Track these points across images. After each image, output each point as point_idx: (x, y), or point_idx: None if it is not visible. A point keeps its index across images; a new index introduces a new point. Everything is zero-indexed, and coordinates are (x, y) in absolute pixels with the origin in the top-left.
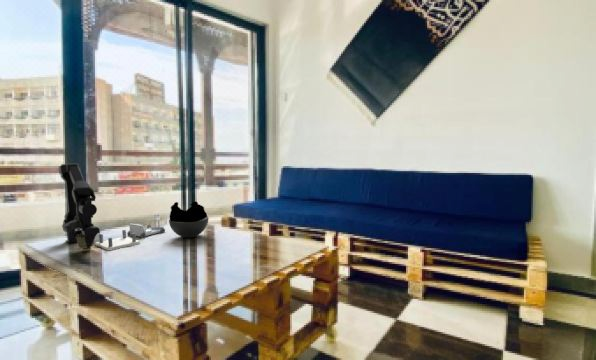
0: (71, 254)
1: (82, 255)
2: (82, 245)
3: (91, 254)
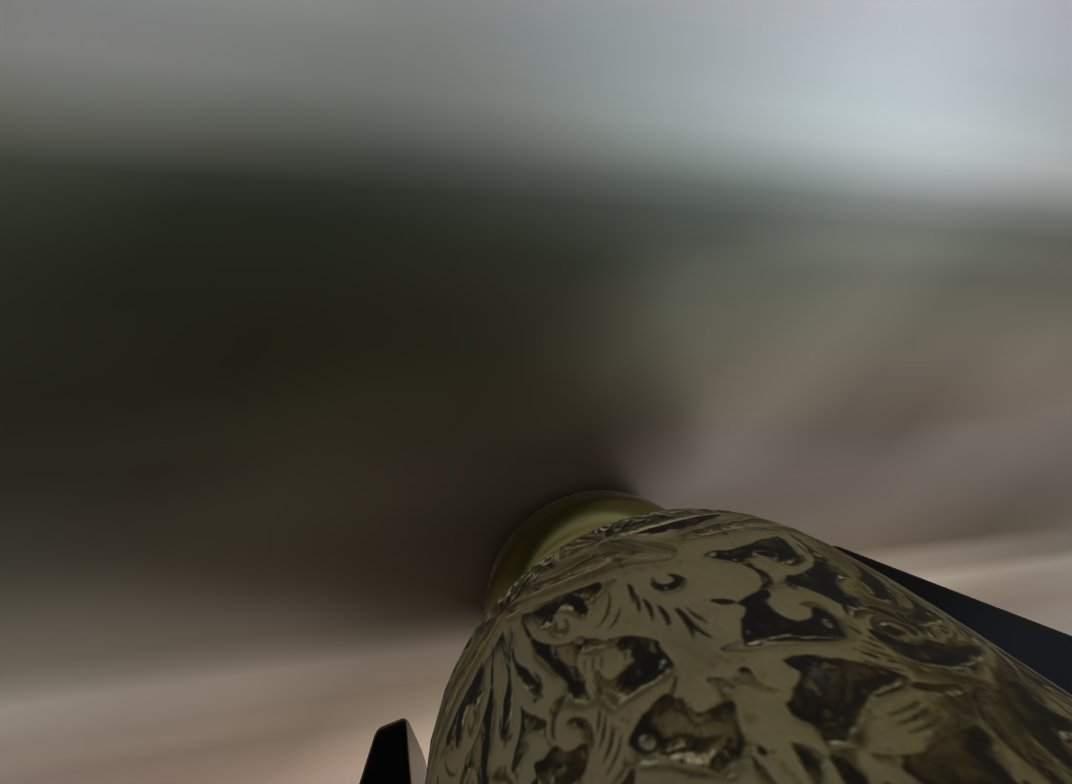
0: (464, 214)
1: (100, 514)
2: (460, 697)
3: (91, 708)
